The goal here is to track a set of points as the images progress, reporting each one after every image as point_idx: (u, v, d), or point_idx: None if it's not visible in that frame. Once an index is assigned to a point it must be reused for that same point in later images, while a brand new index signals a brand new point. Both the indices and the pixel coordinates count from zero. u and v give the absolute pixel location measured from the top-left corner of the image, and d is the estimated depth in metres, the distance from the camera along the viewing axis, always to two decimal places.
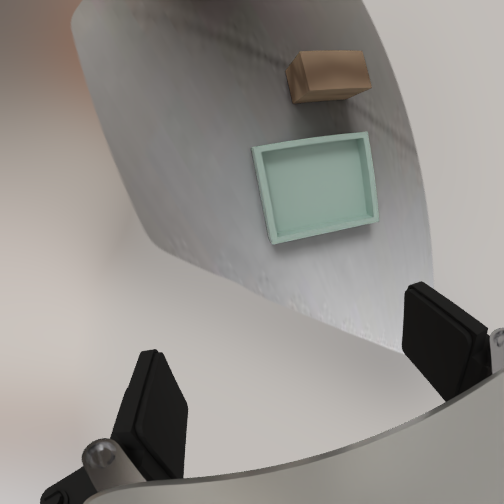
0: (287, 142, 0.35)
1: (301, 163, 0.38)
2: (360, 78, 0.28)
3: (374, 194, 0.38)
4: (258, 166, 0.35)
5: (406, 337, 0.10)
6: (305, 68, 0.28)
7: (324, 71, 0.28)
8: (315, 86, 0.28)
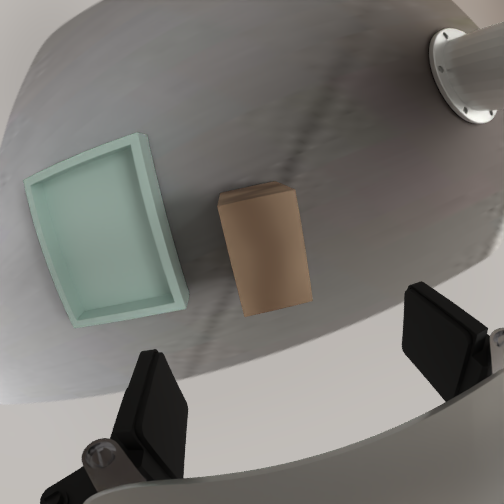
0: (147, 183, 0.22)
1: (128, 210, 0.25)
2: (258, 298, 0.20)
3: (102, 320, 0.25)
4: (110, 143, 0.21)
5: (406, 337, 0.10)
6: (261, 198, 0.18)
7: (259, 233, 0.19)
8: (228, 217, 0.19)
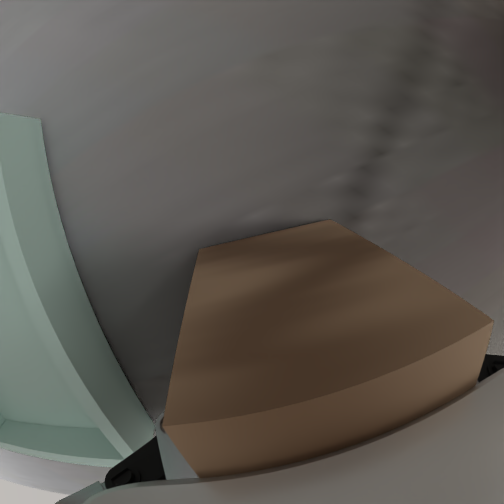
0: (14, 239, 0.07)
1: (14, 284, 0.09)
2: None
3: (24, 451, 0.10)
4: None
5: None
6: (379, 382, 0.03)
7: None
8: (218, 456, 0.03)
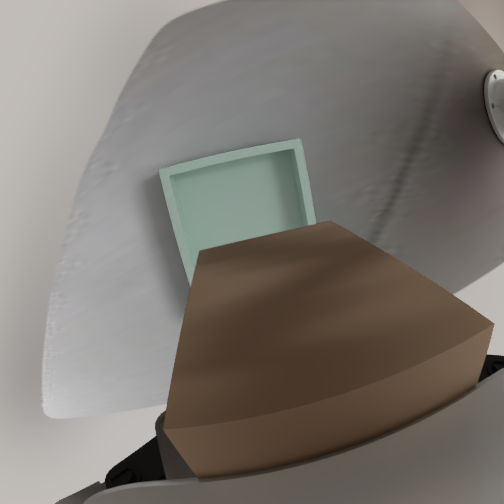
0: (308, 185, 0.26)
1: (275, 208, 0.28)
2: None
3: None
4: (273, 144, 0.24)
5: None
6: (380, 386, 0.03)
7: None
8: (219, 459, 0.03)
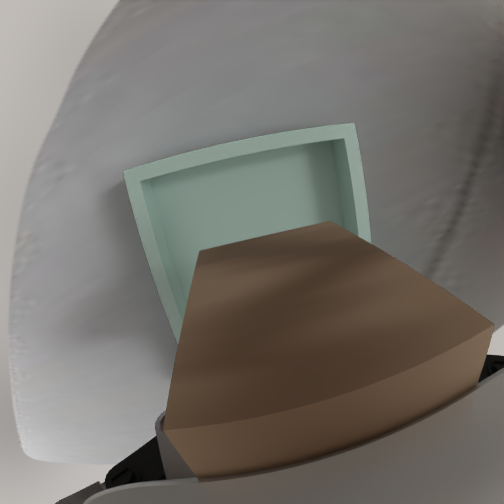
0: (364, 198, 0.16)
1: None
2: None
3: None
4: (312, 130, 0.14)
5: None
6: (380, 386, 0.03)
7: None
8: (219, 459, 0.03)
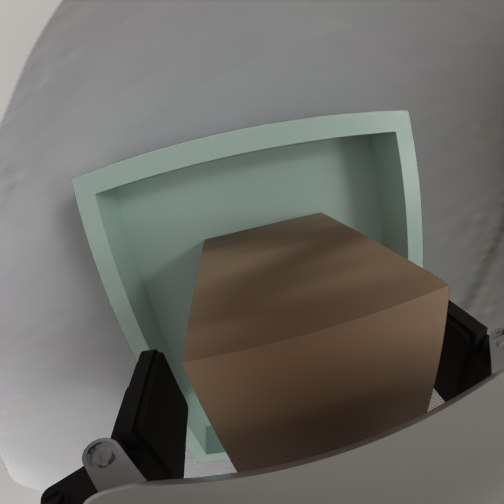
0: (418, 217, 0.10)
1: None
2: None
3: None
4: (353, 117, 0.09)
5: None
6: (350, 326, 0.05)
7: (327, 417, 0.05)
8: (224, 392, 0.05)
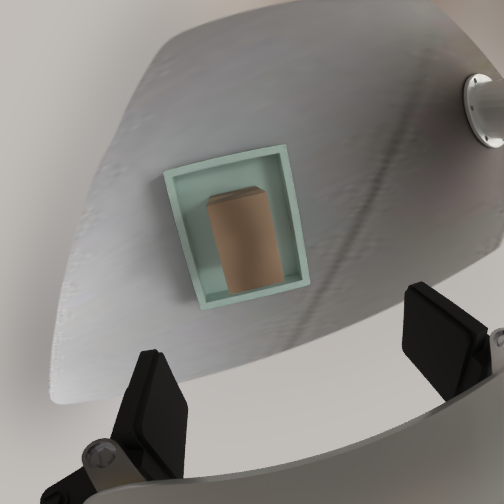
0: (292, 184, 0.30)
1: None
2: (240, 278, 0.26)
3: (234, 300, 0.33)
4: (261, 149, 0.28)
5: (406, 337, 0.10)
6: (240, 199, 0.24)
7: (239, 226, 0.24)
8: (214, 214, 0.24)
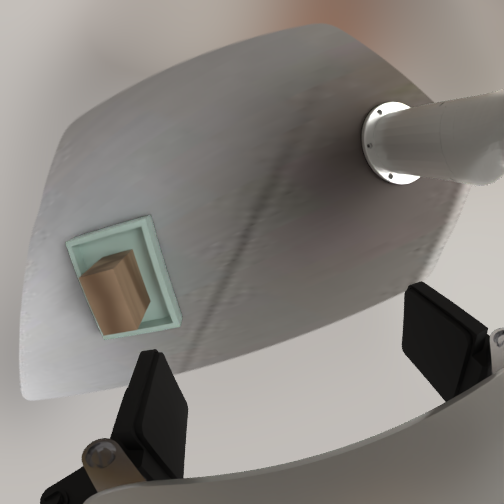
0: (153, 251, 0.36)
1: (140, 264, 0.39)
2: (108, 326, 0.32)
3: (125, 334, 0.39)
4: (127, 224, 0.35)
5: (406, 337, 0.10)
6: (97, 273, 0.30)
7: (100, 291, 0.31)
8: (84, 283, 0.30)
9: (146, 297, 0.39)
